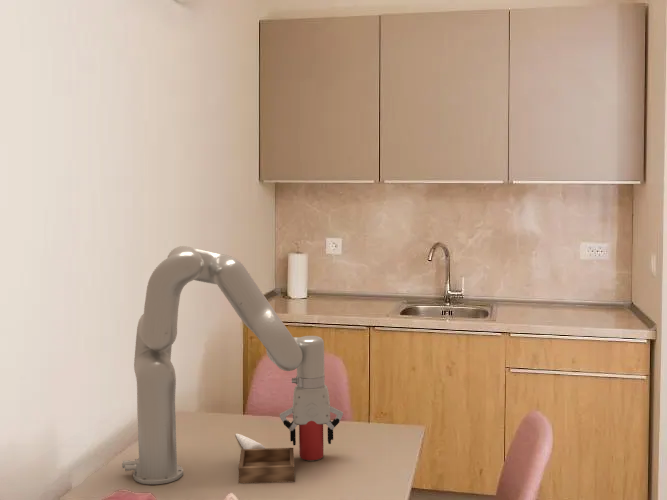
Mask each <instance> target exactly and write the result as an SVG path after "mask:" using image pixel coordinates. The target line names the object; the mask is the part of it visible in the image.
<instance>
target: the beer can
mask: <svg viewBox="0 0 667 500" xmlns="http://www.w3.org/2000/svg"><path fill="white" fill-rule="evenodd" d="M298 430H299V431H298V434H299V437H298V438H299V440H298V441H299V445H298V447H299V454H298V455H299V457H300V459H301V460H303V461H305V462H306V461H307V462H316V461H319V460H321V459H322V458H324V454H325V453H324V424H320V425H319V424H317V423H316V422H314V421H309V422H308V423H307V424H305V425H298Z"/></svg>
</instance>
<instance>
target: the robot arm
mask: <svg viewBox="0 0 667 500" xmlns="http://www.w3.org/2000/svg"><path fill="white" fill-rule="evenodd" d="M192 281H196V282H201V283H207V284H212V285H217V287H218V288H219V289H220V291H221V292H222V294H223V295H224V297H225V298H226V300H227V301H228V303H229V304H230V306H231V307H232V309H233V310H234V311H235V312H236V314H237V316H238V317H239V319H240V320H241V321H242V322H243V324H244V325H245V326H246V328H248V329H249V330H250V331H251V332H252V333H253V334H254V335H255V336H256V337H257V338H258V340H259V341H260V342H261V344H262V345H263V347H264V349H265V352H266V356H267V357H268V358H269V360H270V361H271V362H272V363H273V364H274V365H276V366H277V367H278V368H279V369H281V370H283V371H284V372H285V371H286V372H291V371H294V370H296V376H295V377H294V378H293V377H292V378H291V383H292V384H295V386H294V388H293V396H292V406H291V407H289V408H288V409H285V410H284V411H282V412H280V413H279V418H280V420H281V422H282V423H283V425H284V426H285V428H287V429H288V430H289V436H290V437H289V439H290V442H292V446H296V445H297V442H296V441H297V439H296V437H297V435H296V427H297V426H299V425H305V424H307V423H308V422H309V421H314V422H316V423H317V424H319V425H320V424H323V425H326V426H327V442H328V445H331V444H332V441H333V440H334V429H335V428H336V427H337V425H338V424H339V423H340V421H341V419H342V417H343V416H344V412H343V411H342V410H340V409H337V408H336V407H334V406H332V405H331V403H330V392H329V389H328V386H327V385H326V382H325V374H326V373H325V340H324V339H323V338H322V337H320V336H318V335H304V336H301V337H299V336H298V337H297V336H295V337H294V336H293V335H292V333H291V332H290V331H289V329H288V328H287V326H286V325H285V323H284V322H283V321H282V319H281V318H280V317H279V315H278V314H277V313H276V311H275V309H274V308H273V306H272V305H271V303H270V302H269V301H268V299H267V298H266V296H265V295H264V294H263V292H262V291H261V289H260V287H259V286H258V284H257V283H256V282H255V279H254V278H252V276H251V274H250V273H249V271H248V270H247V268H246V266H245V265H244V263H242V262H241V261H240V260H239V259H238V258H236V257H233V256H231V255H227V254H222V253H218V252H213V251H208V250H204V249H200V248H196V247H190V246H187V245H186V246H185V245H182V246H181V245H180V246H177V247H175V248H173V249H172V250H170V252H169V253H168V255H167V258H165V259H164V260H162V261H161V262H160V263H159V264H158V265H157V266H156V267H155V269H154V270H153V271H152V273H151V275H150V277H149V280H148V282H147V286H146V292H145V301H144V305H143V306H144V307H143V314H142V315H141V316H140V318H139V319H138V323H137V326H136V327H137V328H136V337H135V346H134V348H135V349H134V358H133V359H134V361H133V369H134V373H135V379H136V380H135V381H136V404H137V405H136V407H137V408H136V410H137V435H138V436H137V437H138V458H135V459H134V460H131V459H130V460H122V462H121V463H122V464H121V467H122V469H124V470H125V472H127V471H133V474H132V476H133V477H132V478H133V480H134V481H135V482H137V483H139V484H143V485H162V484H163V485H164V484H167V483H171V482H174V481H177V480H179V479H181V477H182V476H183V474H184V469H183V467H182V466H180V465H179V464H178V459H177V458H178V457H177V456H178V455H177V453H178V452H177V422H176V421H177V420H176V419H177V418H176V416H177V415H176V388H177V387H176V385H177V383H176V382H177V376H176V371H175V366H174V365H173V363H172V361H171V357H172V349H173V348H172V347H173V344H175V343H174V342H175V341H176V339H177V335H178V317H179V307H180V299H181V293H182V291H183V289H184V287H185V286H186V285H187V284H188V283H190V282H192ZM331 414H334V415H336V416H335V418H334V419H333V420H331ZM290 415H292V421H291V422H290V421H289V420H288V419H287V417H288V416H290Z"/></svg>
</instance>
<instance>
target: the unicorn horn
mask: <svg viewBox="0 0 667 500" xmlns="http://www.w3.org/2000/svg"><path fill="white" fill-rule="evenodd" d="M234 435H235V438H236V439H237V441H238V443H239V445H241V448H242V449H265V448H266V447H265V445H263V444H262V443H260V442H258V441H256V440H255V439H252V438H250V437H248V436H245V435H243V434H239V433H235V434H234Z"/></svg>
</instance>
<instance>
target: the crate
mask: <svg viewBox="0 0 667 500" xmlns="http://www.w3.org/2000/svg"><path fill="white" fill-rule="evenodd" d="M292 482H295V454H294V447H272V448H271V447H270V448H266V447H265V449H243V448H241V449H240V455H239V463H238V484H239V483H243V484H267V483H269V484H271V483H292Z"/></svg>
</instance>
